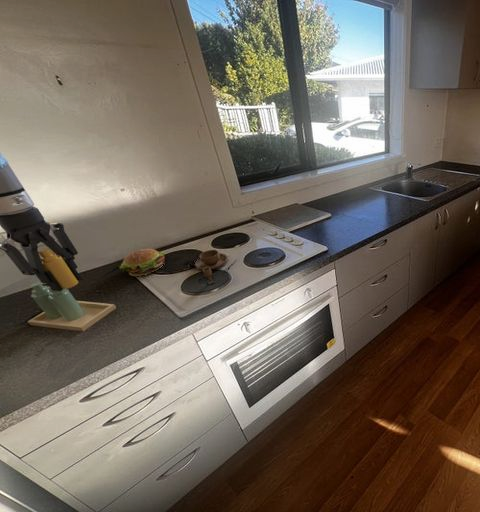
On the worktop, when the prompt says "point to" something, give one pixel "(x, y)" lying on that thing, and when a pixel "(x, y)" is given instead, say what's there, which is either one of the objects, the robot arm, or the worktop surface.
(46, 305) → the sage bottle
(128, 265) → the food
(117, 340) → the worktop surface
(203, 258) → the place setting
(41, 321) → the tray
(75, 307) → the sage bottle
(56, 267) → the mustard bottle
